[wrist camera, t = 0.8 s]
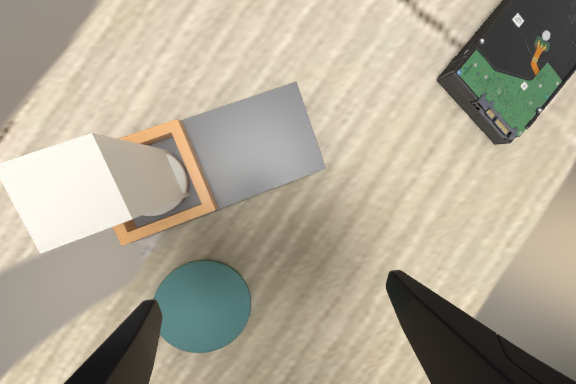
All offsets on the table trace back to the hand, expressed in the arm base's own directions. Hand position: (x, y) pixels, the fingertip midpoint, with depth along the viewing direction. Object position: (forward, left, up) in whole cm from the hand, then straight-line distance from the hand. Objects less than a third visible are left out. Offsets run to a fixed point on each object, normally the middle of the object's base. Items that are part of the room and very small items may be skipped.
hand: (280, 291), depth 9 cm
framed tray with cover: (+4, +5, -15) cm, 16 cm away
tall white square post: (+1, +10, -13) cm, 16 cm away
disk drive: (+22, -21, -15) cm, 35 cm away
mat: (-10, +4, -15) cm, 18 cm away
